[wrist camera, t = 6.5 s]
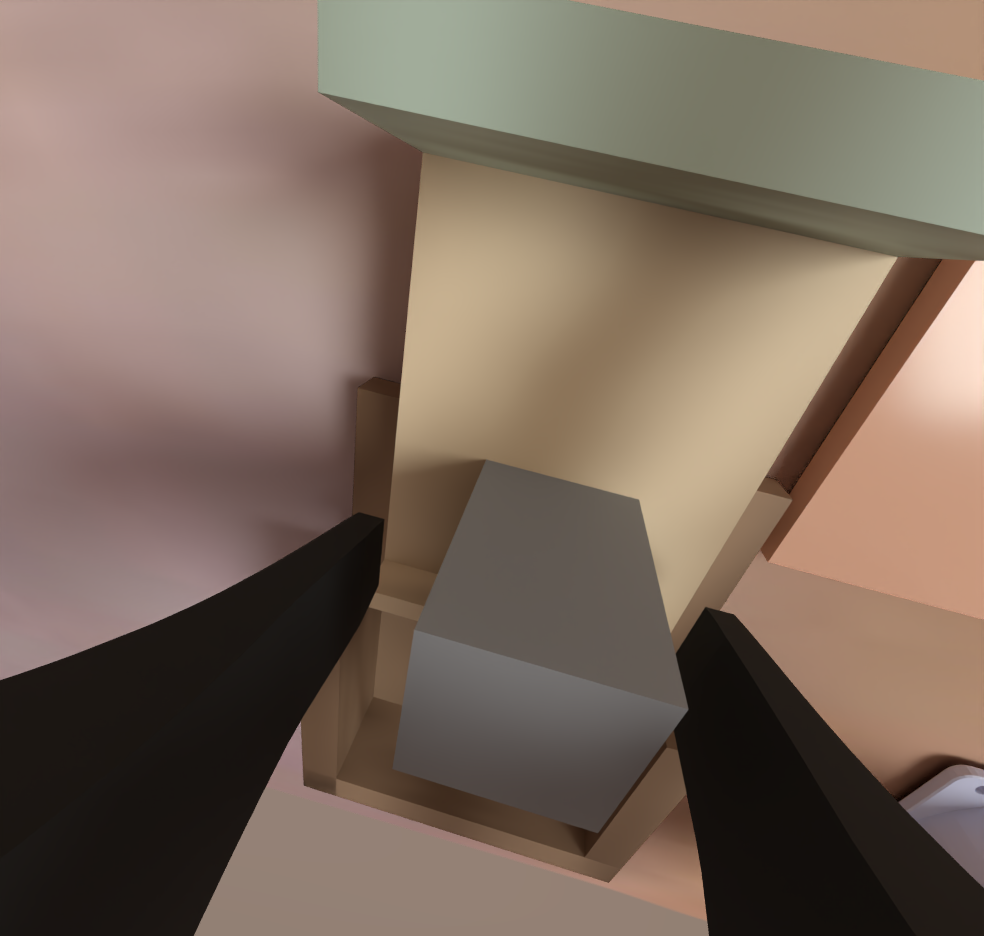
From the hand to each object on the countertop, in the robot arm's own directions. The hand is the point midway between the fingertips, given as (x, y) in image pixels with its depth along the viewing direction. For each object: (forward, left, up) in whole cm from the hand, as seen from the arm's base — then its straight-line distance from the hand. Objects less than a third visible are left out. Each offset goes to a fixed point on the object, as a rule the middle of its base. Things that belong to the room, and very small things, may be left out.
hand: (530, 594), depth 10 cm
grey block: (0, 0, -2) cm, 2 cm away
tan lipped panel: (0, -3, -2) cm, 4 cm away
